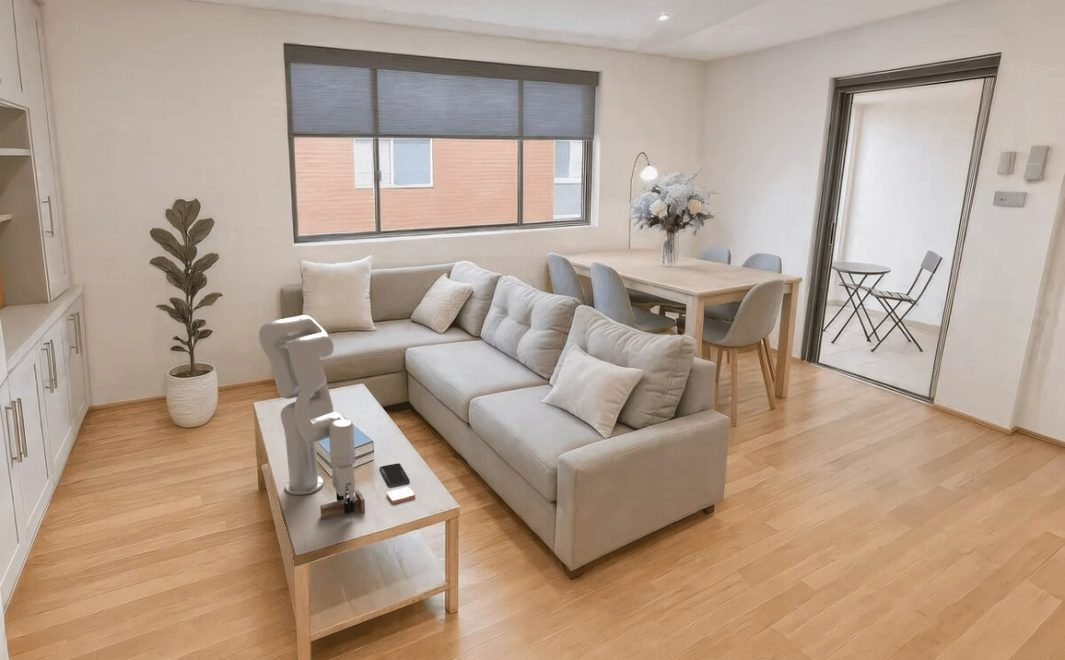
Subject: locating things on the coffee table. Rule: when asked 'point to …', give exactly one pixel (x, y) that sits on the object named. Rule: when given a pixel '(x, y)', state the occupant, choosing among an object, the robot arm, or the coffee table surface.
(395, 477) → the phone
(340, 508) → the post on base stand
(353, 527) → the coffee table surface
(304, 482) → the robot arm
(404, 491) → the tile
